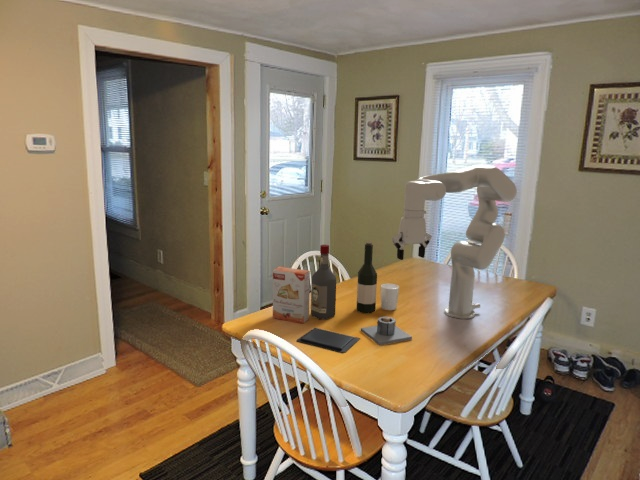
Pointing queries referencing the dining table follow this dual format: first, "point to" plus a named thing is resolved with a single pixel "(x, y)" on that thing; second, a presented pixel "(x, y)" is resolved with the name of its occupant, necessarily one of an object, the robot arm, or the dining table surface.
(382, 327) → the collar
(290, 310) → the cracker box
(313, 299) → the liquor
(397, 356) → the dining table surface
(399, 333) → the post base
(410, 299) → the dining table surface
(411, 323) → the dining table surface
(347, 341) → the wallet
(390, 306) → the white cup
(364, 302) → the wine bottle
